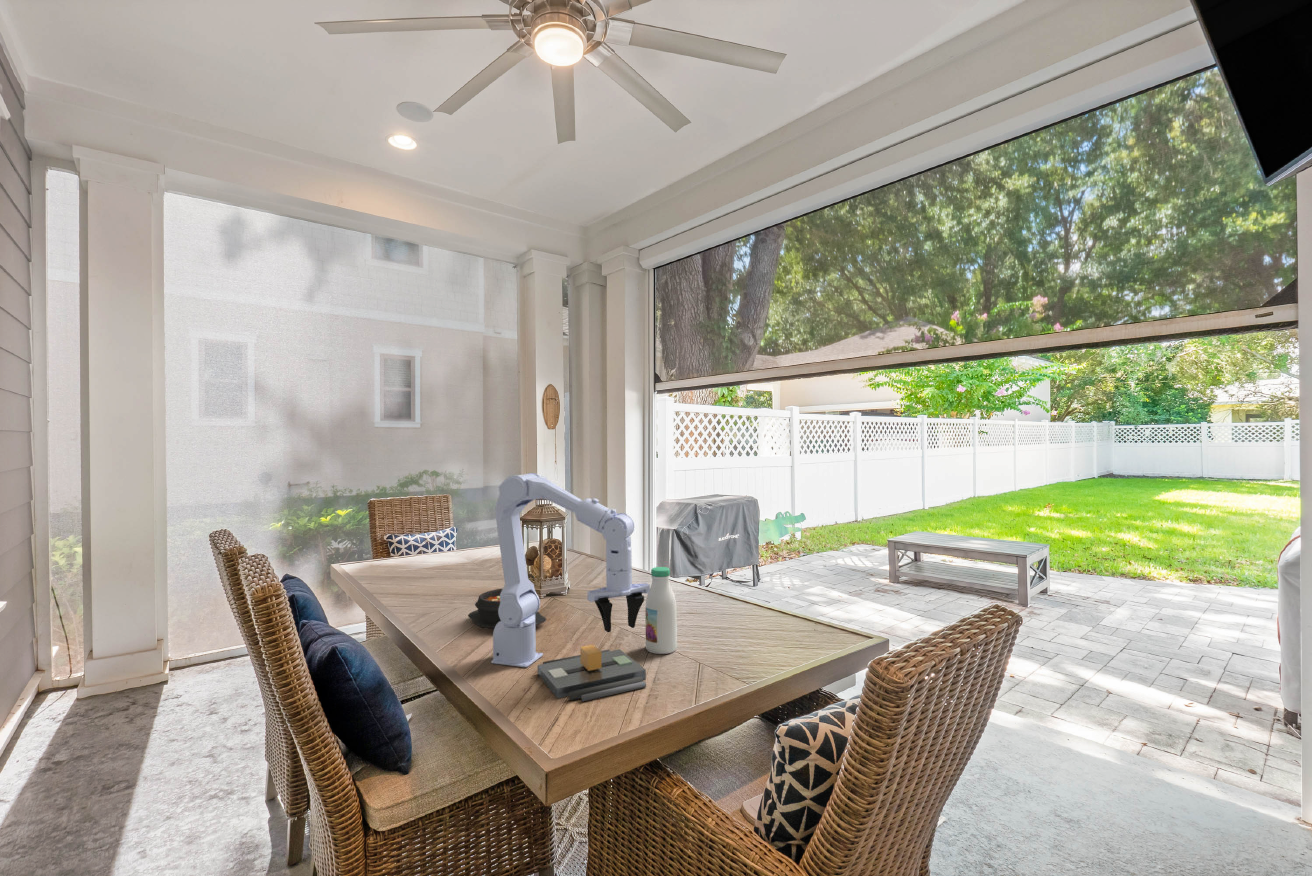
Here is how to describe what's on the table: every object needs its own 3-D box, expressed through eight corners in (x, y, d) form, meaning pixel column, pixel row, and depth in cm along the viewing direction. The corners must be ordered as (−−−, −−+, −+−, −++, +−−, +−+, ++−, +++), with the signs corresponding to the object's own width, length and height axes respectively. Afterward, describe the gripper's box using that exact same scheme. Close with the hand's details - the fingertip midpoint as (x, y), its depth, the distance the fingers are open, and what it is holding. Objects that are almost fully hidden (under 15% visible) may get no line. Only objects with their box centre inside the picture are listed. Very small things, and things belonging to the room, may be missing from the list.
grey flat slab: (557, 698, 120) (556, 687, 120) (537, 673, 133) (537, 663, 133) (645, 678, 129) (645, 668, 129) (619, 657, 142) (619, 647, 142)
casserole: (561, 623, 168) (561, 593, 168) (508, 642, 153) (508, 609, 153) (505, 608, 183) (504, 581, 183) (451, 624, 169) (451, 594, 168)
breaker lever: (588, 670, 128) (588, 654, 128) (580, 662, 132) (580, 646, 132) (601, 668, 129) (601, 651, 129) (593, 660, 134) (592, 644, 134)
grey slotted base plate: (573, 704, 117) (573, 696, 117) (542, 667, 136) (542, 660, 136) (646, 688, 125) (646, 680, 125) (607, 655, 143) (607, 648, 143)
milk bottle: (675, 643, 151) (675, 564, 151) (678, 654, 143) (677, 571, 143) (645, 644, 151) (644, 565, 151) (646, 655, 143) (645, 572, 143)
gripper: (595, 576, 127) (596, 639, 127) (655, 568, 134) (656, 628, 134) (583, 569, 133) (584, 629, 133) (642, 562, 140) (642, 619, 140)
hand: (619, 628), depth 134 cm, fingers open, 5 cm apart
